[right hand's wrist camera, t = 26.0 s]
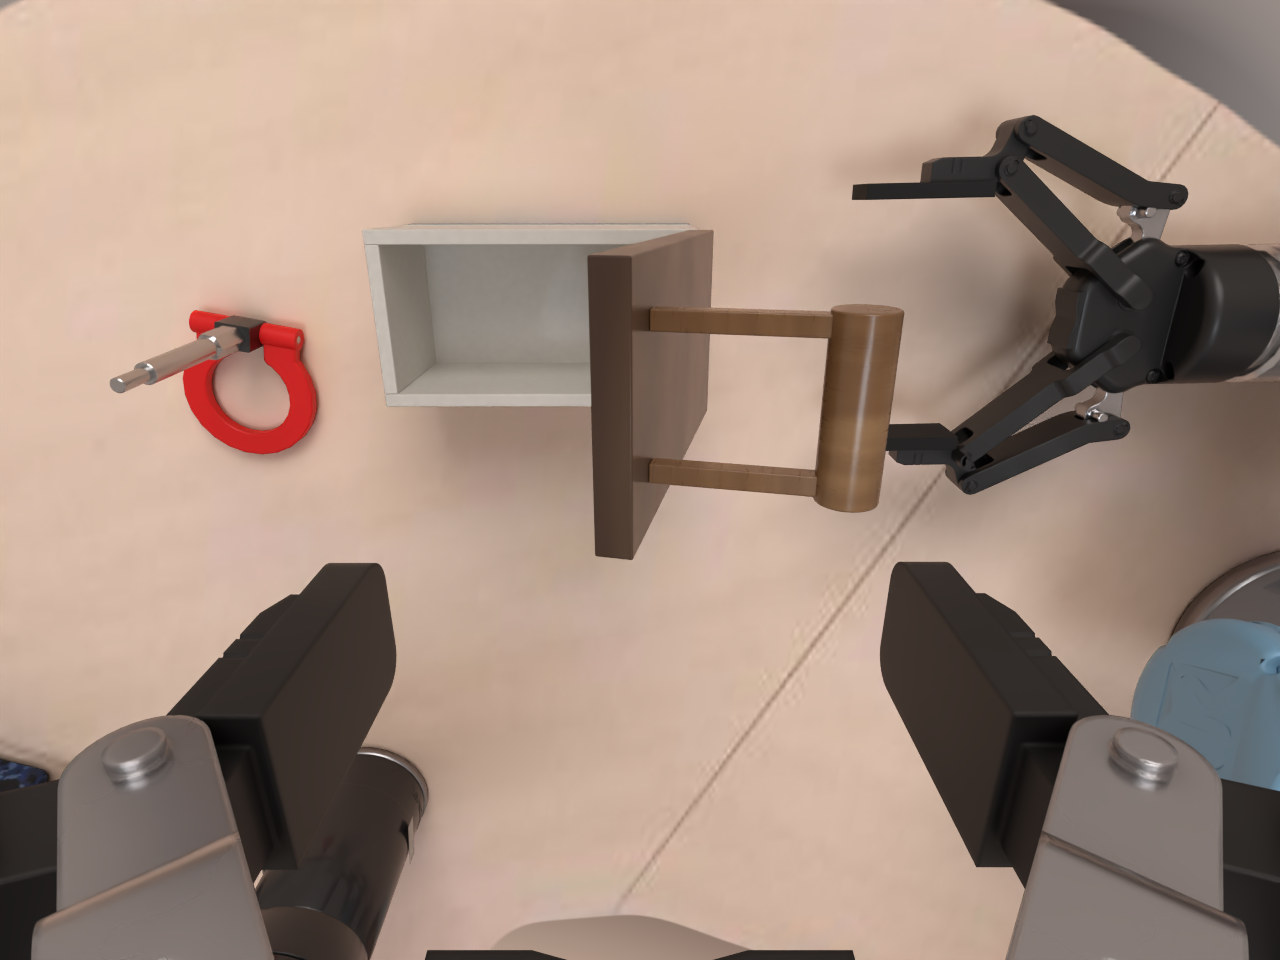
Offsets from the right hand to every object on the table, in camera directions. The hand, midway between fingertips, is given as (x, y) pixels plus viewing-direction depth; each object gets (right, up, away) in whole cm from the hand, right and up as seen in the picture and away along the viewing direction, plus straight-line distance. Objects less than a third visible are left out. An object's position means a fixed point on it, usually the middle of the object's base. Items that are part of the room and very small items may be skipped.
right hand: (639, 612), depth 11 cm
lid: (+1, +7, +18) cm, 19 cm away
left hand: (+12, +11, +28) cm, 33 cm away
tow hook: (-26, +8, +36) cm, 45 cm away
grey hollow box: (-6, +14, +34) cm, 37 cm away
